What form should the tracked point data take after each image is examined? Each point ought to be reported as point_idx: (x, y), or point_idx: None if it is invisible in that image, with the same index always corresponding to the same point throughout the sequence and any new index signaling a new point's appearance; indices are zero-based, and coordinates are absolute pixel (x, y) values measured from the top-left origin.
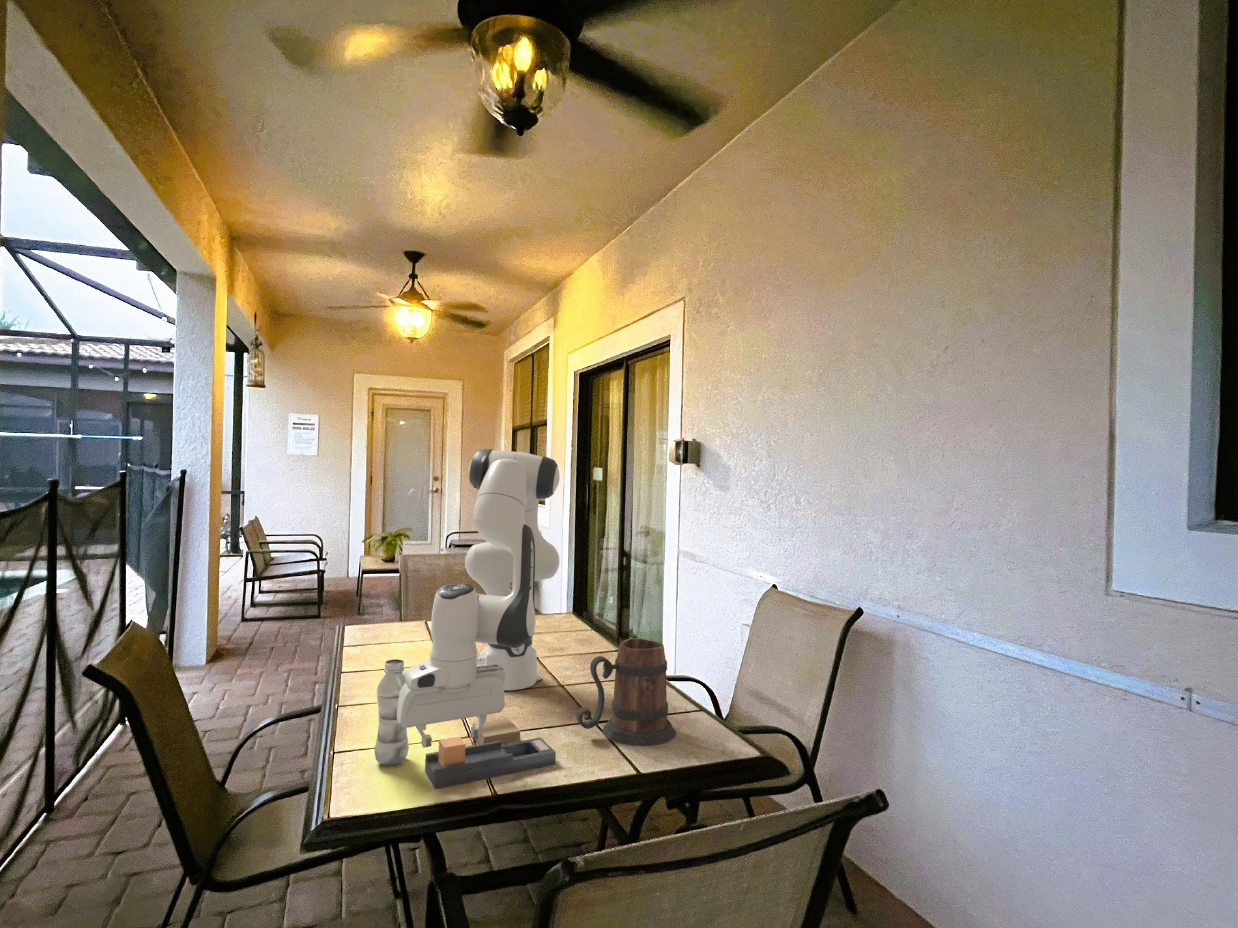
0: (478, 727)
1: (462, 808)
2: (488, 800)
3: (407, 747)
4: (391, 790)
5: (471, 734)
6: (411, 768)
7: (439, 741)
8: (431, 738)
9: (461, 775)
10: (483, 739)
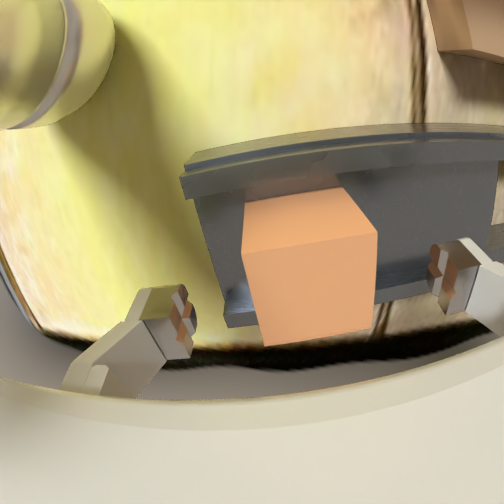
0: (474, 316)
1: (292, 369)
2: (355, 353)
3: (95, 58)
4: (108, 261)
5: (435, 264)
6: (143, 114)
7: (243, 258)
8: (190, 354)
9: None
10: (463, 42)
